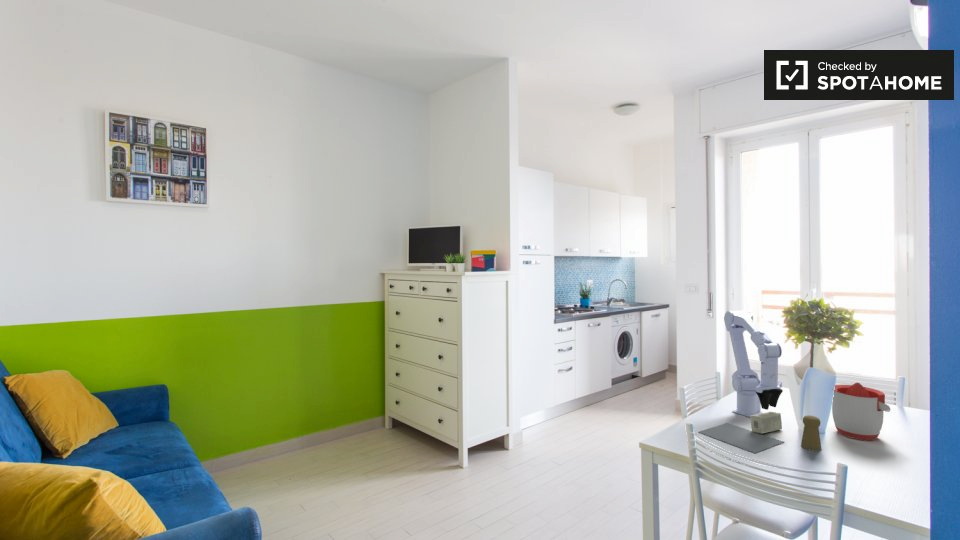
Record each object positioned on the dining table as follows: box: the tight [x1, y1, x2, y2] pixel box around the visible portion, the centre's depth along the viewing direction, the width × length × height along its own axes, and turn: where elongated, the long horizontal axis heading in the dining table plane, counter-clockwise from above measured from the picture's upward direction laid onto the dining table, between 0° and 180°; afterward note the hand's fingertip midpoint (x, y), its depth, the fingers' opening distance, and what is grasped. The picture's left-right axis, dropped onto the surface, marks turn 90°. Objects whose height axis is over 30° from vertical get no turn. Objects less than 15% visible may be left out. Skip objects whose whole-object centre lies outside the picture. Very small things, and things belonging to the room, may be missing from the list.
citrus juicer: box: [831, 382, 891, 441], centre depth 176 cm, size 16×17×20 cm
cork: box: [800, 415, 822, 451], centre depth 167 cm, size 6×6×11 cm
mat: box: [698, 422, 785, 455], centre depth 177 cm, size 18×22×1 cm
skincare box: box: [749, 411, 783, 435], centre depth 183 cm, size 6×4×12 cm
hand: (768, 407), depth 186 cm, fingers open, 5 cm apart
